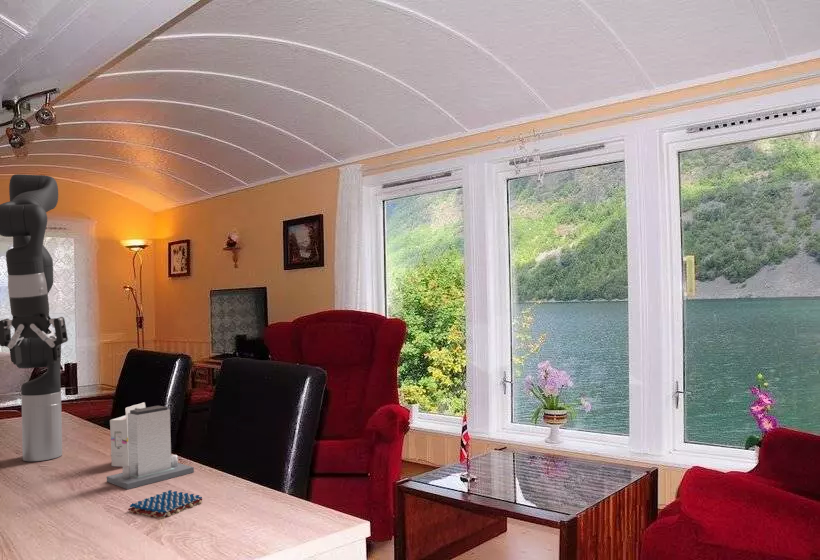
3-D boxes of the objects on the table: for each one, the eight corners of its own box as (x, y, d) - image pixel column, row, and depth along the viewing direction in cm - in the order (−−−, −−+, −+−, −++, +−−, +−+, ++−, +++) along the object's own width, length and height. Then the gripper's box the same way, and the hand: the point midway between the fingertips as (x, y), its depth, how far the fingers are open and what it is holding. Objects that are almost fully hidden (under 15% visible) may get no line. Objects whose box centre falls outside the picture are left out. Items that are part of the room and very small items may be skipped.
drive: (128, 474, 148) (127, 410, 148) (161, 466, 154) (160, 405, 154) (138, 477, 145) (136, 412, 145) (171, 469, 151) (169, 406, 152)
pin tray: (127, 489, 140) (127, 472, 141) (106, 481, 147) (106, 465, 147) (193, 472, 153) (193, 456, 153) (171, 465, 159) (171, 450, 159)
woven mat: (125, 514, 126) (124, 504, 126) (168, 498, 135) (168, 488, 135) (162, 522, 121) (162, 511, 121) (205, 505, 130) (204, 495, 130)
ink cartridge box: (131, 457, 169) (130, 401, 169) (148, 458, 168) (147, 401, 168) (110, 466, 160) (108, 407, 161) (127, 467, 159) (126, 407, 160)
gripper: (68, 289, 149) (75, 357, 151) (7, 291, 149) (15, 359, 151) (51, 295, 142) (58, 366, 144) (-14, 297, 142) (-6, 368, 144)
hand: (36, 363), depth 148 cm, fingers open, 8 cm apart
